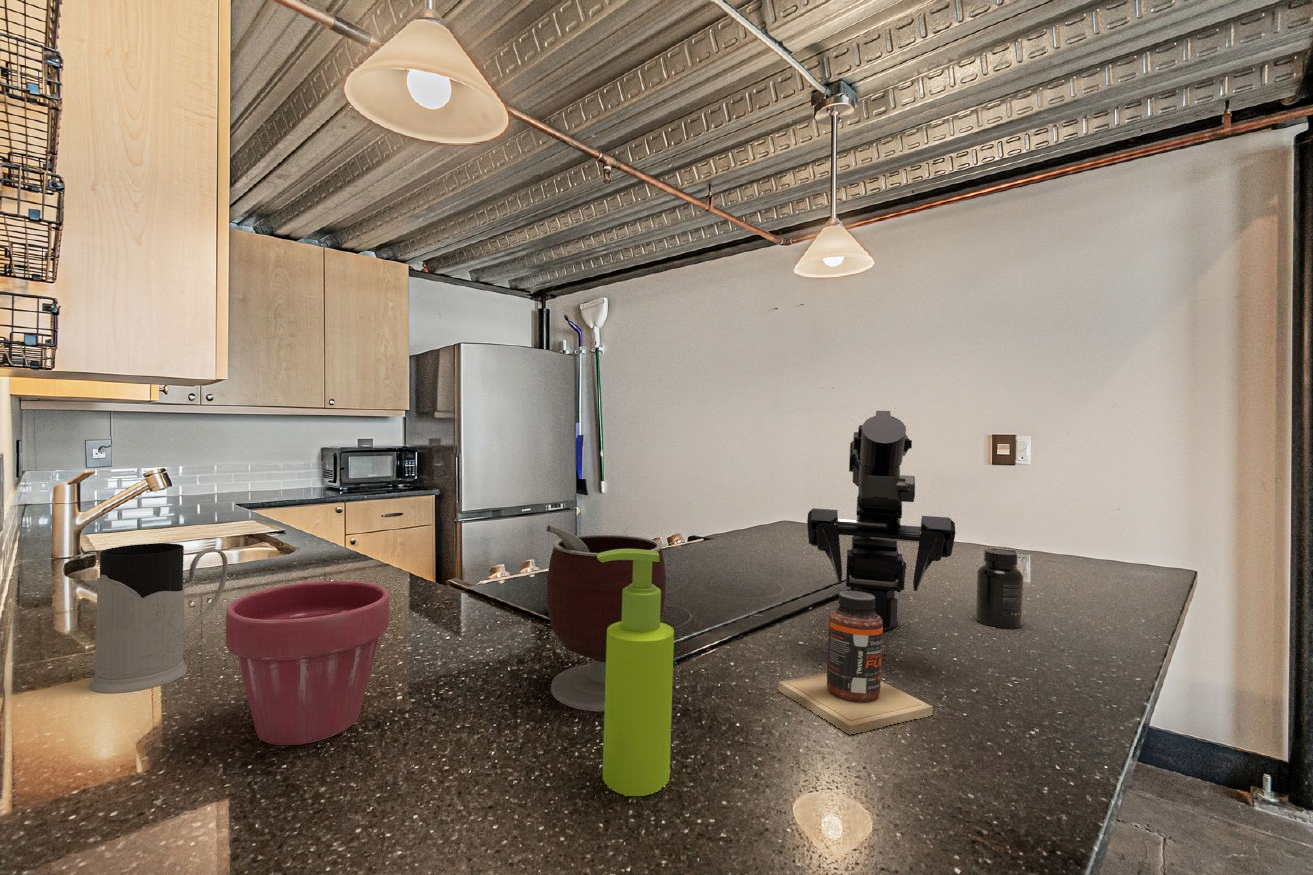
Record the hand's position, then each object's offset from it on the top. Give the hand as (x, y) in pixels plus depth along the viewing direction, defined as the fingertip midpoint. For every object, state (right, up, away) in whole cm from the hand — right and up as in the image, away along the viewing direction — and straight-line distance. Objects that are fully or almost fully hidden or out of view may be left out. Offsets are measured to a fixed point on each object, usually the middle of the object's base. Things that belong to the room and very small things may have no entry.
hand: (877, 585), depth 80 cm
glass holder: (-88, -9, -5) cm, 88 cm away
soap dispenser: (-31, -11, -25) cm, 41 cm away
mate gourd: (-35, -11, -7) cm, 38 cm away
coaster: (-6, -11, -8) cm, 15 cm away
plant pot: (-63, -10, -17) cm, 66 cm away
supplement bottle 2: (+29, -12, +25) cm, 40 cm away
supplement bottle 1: (-6, -11, -8) cm, 15 cm away
